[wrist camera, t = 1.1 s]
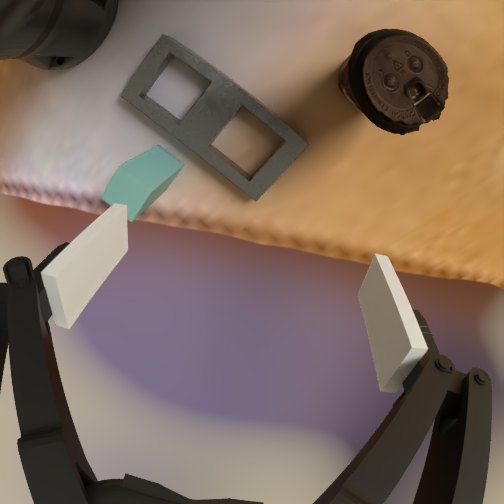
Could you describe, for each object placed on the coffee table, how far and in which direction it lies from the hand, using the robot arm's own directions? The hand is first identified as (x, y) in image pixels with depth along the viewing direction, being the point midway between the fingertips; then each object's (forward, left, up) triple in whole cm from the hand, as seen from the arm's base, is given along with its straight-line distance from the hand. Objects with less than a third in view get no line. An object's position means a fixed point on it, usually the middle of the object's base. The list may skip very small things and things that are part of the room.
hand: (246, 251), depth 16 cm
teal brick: (-9, -9, -21) cm, 25 cm away
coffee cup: (+2, +14, -22) cm, 26 cm away
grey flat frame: (-8, 0, -21) cm, 23 cm away
